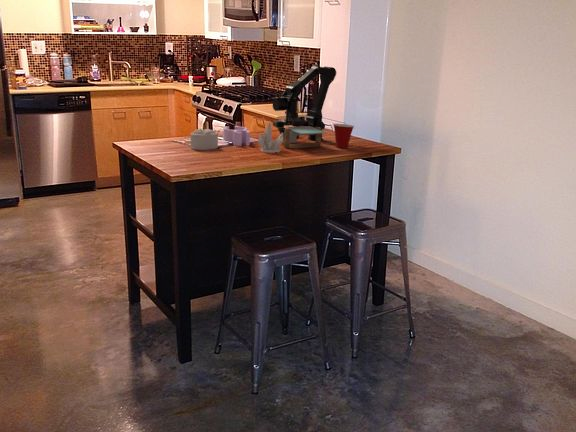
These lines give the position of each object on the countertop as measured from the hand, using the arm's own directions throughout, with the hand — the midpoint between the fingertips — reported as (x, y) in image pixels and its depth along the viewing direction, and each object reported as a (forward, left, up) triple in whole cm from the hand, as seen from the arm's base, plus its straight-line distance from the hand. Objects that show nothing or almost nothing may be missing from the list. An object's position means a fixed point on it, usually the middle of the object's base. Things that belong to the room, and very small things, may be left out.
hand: (290, 139), depth 294 cm
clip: (+28, -6, -2) cm, 28 cm away
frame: (0, +14, -1) cm, 14 cm away
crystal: (+19, +18, -1) cm, 26 cm away
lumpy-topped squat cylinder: (+49, +3, -1) cm, 49 cm away
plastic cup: (-20, +20, -1) cm, 28 cm away
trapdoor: (0, +17, +5) cm, 18 cm away
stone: (0, 0, -1) cm, 1 cm away
